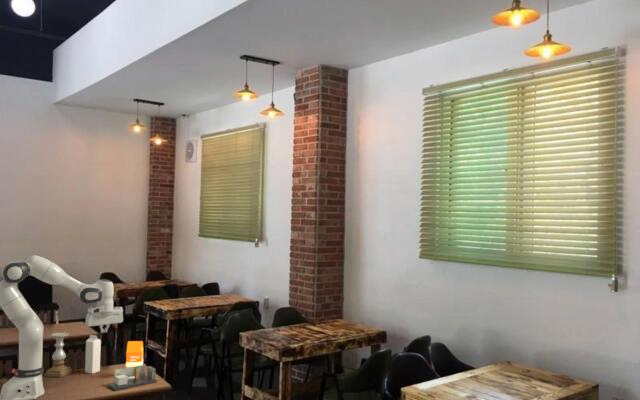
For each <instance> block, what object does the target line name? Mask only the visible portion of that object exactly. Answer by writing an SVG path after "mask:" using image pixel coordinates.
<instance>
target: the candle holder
mask: <svg viewBox="0 0 640 400" xmlns="http://www.w3.org/2000/svg"><path fill="white" fill-rule="evenodd" d="M49 335H50V337H51V338H54V340H55V341H56V342H55V344H54V347H55V348H56V349H55V351H54V352H53V354H52V356H51V357H52V358H51V359H52V360H53V362H52V364H53V366H51V368H47V369H46V372H44V377H49V378H51V377H52V378H64V377H65V376H68V375H69V374H71V373H72V372H73V369H72V368H71V366H66V365H65V358H66V357H67V355H66V353H65V351H64V349H63V347H64V346H65V343H64V339H65V338H66V337H69V335H70V333H69V332H64V331H60V332H59V331H58V332H53V333H50V334H49Z"/></svg>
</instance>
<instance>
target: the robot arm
mask: <svg viewBox="0 0 640 400" xmlns="http://www.w3.org/2000/svg"><path fill="white" fill-rule="evenodd" d="M29 276H32V277H34V278H35V279H37V280H39V281H41V282H42V283H46V284H49V285H52V286H53V285H58V286H62V287H64V288H67V289H68V290H70V291H72V292H74V293H75V294H76V295H77V297H78V298H79V299H80V301H81V302H82V303H85V304H88V305H89V304H93V303H96V304H95V305H93V306H90V307H87V314H86V316H85V320H84V321H85V322H84V324H85V326H86V327H96V326H97V327H98V326H99V328H100V332H101V334H103V333H108V329H109V328H110V325H113V324H121V323H123V322H124V314H123V313H124V308H123V307H122V306H114V295H115V291H114V290H115V289H114V288H115V287H114V283H113V281H111V280H109V279H105V278H102V279H101V278H100V279H98V280H97V281H96V282H94V283H89V282H88V283H87V282H82V281H79V280H77V278H74V277H73V276H70V275H69V274H68V273H66V272H65V270H64V269H63V268H62V267H60V265H58V264H56V262H53V261H51V260H49V259H47V258H45V257H42V256H39V255H36V254H34V255H30V256H29V257H27V258H26V260H25V261H23V262H20V261H17V260H15V261H9V262H8V263H6V264H4V266H3V268H2V270H1V281H0V307H1V309H2V311H3V312H4V314H5V315H6V317H7V318H8V320H9V321H11V323H12V324H13V326H15V327H16V328H17V329H18V331H19V332H18V368H17V369H16V368H12V370H11V373H12V374H13V376H12V378H10V379H9V380H8V381H6V382H5V383H3V385H2V387H1V389H0V400H35V399H38V398H39V397H41V396H42V395H44V394H45V388H44V383H43V382H44V381H43V376H44V365H43V356H44V355H43V353H44V352H43V350H44V349H43V343H44V342H43V339H44V329H45V327H44V326H45V325H44V323H43V321H42V320H41V318H40V317H39V316H38V315H37V313H36V312H35V311H34V309H32V308H31V306H30V305H29V303H28V302H27V299H26V298H25V297H24V295H23V294H22V293H21V291H20V290H19V287H18V283H20V282H22V281H23V280H25V278H27V277H29ZM104 326H105V328H103V327H104Z"/></svg>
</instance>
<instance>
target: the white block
mask: <svg viewBox="0 0 640 400" xmlns="http://www.w3.org/2000/svg"><path fill="white" fill-rule="evenodd" d="M132 379H135V376H132V377H127V376H126V375H119V376H115V384H117V385H118V386H119V385H124V384H127V380H132Z"/></svg>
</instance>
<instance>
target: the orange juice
mask: <svg viewBox="0 0 640 400" xmlns="http://www.w3.org/2000/svg"><path fill="white" fill-rule="evenodd" d="M125 359H126V360H125V368H127V367H133V366H139V365H144V342H143V340H139V341H138V340H136V341H135V340H132V341H131V340H129V341H127V346H126V358H125Z"/></svg>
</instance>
